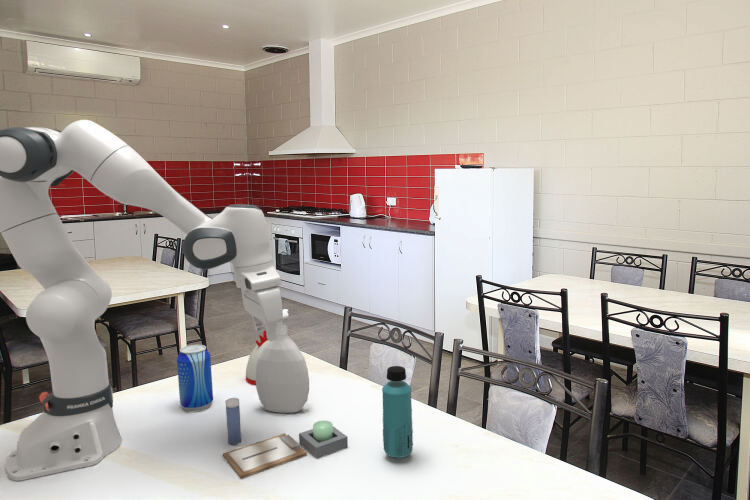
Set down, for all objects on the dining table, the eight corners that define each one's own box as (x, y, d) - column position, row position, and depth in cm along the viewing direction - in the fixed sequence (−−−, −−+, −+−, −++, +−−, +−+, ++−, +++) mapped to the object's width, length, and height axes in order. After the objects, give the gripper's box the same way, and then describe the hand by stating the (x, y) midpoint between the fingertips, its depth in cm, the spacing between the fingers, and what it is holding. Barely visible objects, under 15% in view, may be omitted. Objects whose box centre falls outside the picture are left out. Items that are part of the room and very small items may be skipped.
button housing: (316, 458, 114) (316, 447, 114) (299, 443, 121) (298, 433, 120) (347, 447, 119) (347, 436, 119) (329, 433, 125) (329, 423, 125)
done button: (319, 447, 117) (318, 431, 116) (309, 439, 120) (309, 424, 120) (336, 441, 119) (336, 425, 119) (326, 433, 123) (326, 418, 122)
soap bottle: (315, 403, 142) (312, 305, 138) (305, 417, 134) (301, 313, 130) (264, 400, 145) (260, 304, 141) (252, 413, 137) (246, 311, 133)
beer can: (217, 407, 141) (213, 349, 139) (185, 415, 136) (180, 356, 134) (208, 396, 148) (204, 341, 146) (176, 404, 143) (172, 347, 141)
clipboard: (241, 478, 107) (240, 472, 107) (222, 456, 116) (222, 450, 116) (306, 455, 116) (306, 449, 116) (284, 435, 125) (284, 430, 125)
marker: (230, 446, 120) (228, 404, 119) (225, 441, 123) (223, 400, 121) (243, 442, 122) (241, 401, 121) (238, 437, 125) (236, 396, 123)
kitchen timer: (301, 376, 162) (299, 329, 159) (263, 390, 152) (261, 339, 150) (274, 366, 171) (272, 321, 169) (237, 378, 161) (234, 330, 159)
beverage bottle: (411, 466, 111) (410, 374, 108) (380, 463, 112) (378, 372, 109) (415, 450, 117) (414, 363, 114) (385, 447, 118) (384, 361, 116)
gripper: (231, 274, 125) (241, 330, 127) (253, 284, 107) (264, 349, 109) (257, 268, 128) (266, 323, 130) (283, 277, 110) (293, 341, 112)
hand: (266, 335), depth 119 cm, fingers open, 8 cm apart
